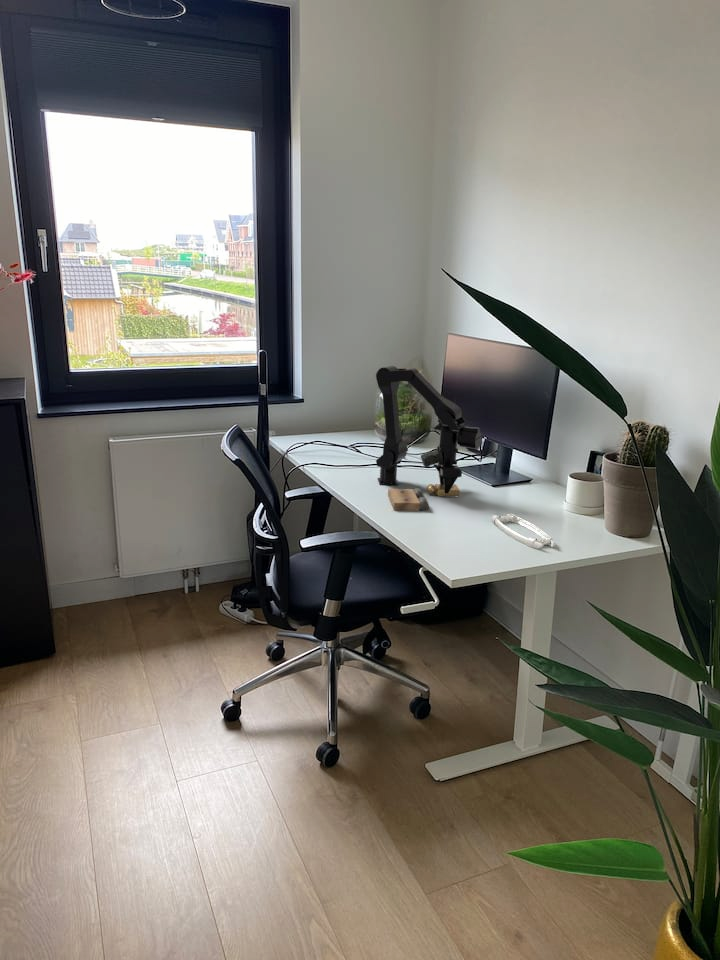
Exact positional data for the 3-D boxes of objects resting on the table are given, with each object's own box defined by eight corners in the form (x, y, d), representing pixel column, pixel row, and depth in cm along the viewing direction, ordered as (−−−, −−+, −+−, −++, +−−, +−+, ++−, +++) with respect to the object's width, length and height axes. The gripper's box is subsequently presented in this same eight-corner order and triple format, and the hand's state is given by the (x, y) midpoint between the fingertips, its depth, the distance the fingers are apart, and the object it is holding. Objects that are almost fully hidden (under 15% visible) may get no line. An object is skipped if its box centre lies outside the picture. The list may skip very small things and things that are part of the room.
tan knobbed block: (454, 491, 242) (455, 483, 241) (458, 496, 237) (459, 488, 236) (425, 490, 241) (426, 482, 240) (429, 496, 236) (429, 488, 235)
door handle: (531, 553, 194) (484, 521, 216) (562, 549, 197) (512, 518, 219) (533, 544, 193) (485, 513, 215) (563, 540, 196) (513, 510, 218)
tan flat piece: (393, 510, 221) (394, 501, 220) (387, 495, 234) (388, 487, 233) (428, 510, 222) (429, 501, 221) (420, 496, 235) (421, 488, 234)
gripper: (418, 437, 242) (415, 481, 247) (428, 451, 224) (425, 498, 229) (451, 437, 243) (447, 482, 248) (464, 451, 226) (459, 499, 230)
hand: (444, 490), depth 239 cm, fingers closed on tan knobbed block, 6 cm apart
